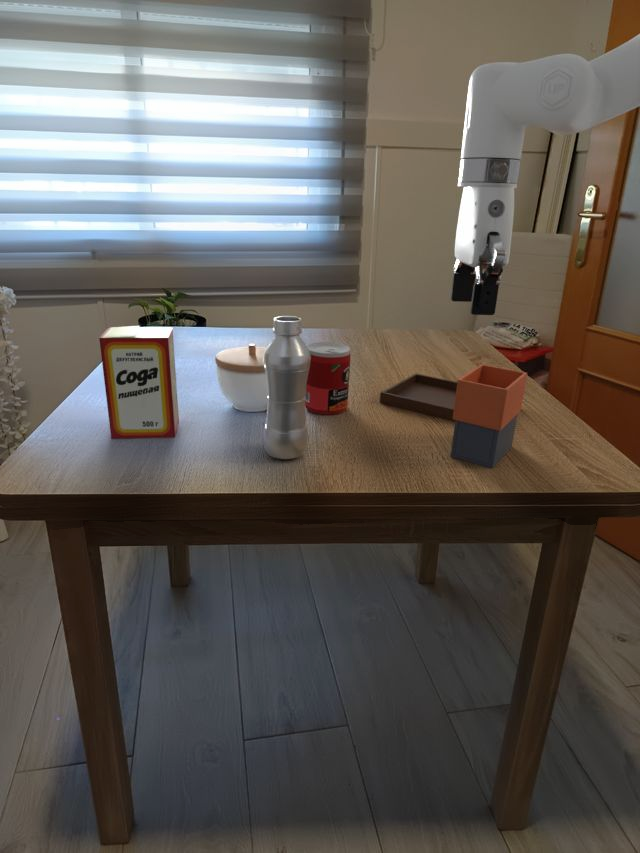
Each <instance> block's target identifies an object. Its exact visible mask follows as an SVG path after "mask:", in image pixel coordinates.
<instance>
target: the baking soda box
mask: <svg viewBox="0 0 640 853" xmlns="http://www.w3.org/2000/svg"><path fill="white" fill-rule="evenodd" d="M173 330H174V328H173V327H170V326H169V327H168V326H167V327H166V326H165V327H164V326H163V327H162V326H160V327H159V326H152V327H151V326H141V325H128V326H127V325H126V326H110V327H108V328H106V329H105V331H104V332H103V333H102V334H101V336H99V337H98V339H99V347H100V356H101V364H102V371H103V372H102V374H103V381H104V388H105V398H106V406H107V414H108V422H109V423H108V424H109V432H110V439H111V440H116V439H119V440H120V439H155V438H176V436H177V432H178V427H179V424H180V423H179V422H180V417H179V401H178V389H177V387H178V385H177V374H176V359H175V343H174V331H173Z"/></svg>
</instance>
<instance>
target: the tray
mask: <svg viewBox="0 0 640 853" xmlns="http://www.w3.org/2000/svg"><path fill="white" fill-rule="evenodd" d="M457 382H458V381H455V380H449V379H446V378H440V377H435V376H430V375H426V374H422V373H416V372H415V373H413V374H411V375H410V376H408V377H406V378H404V379H402V380H400V381H399V382H397V383H395V384H393V385H391V386H390V387H388V388H385V389H384V390H382V391H380V392H379V403H380V404H385V405H389V406H393V407H396V408H400V409H405V410H409V411H412V412H416V413H421V414H425V415H429V416H432V417H438V418H442V419H444V420H445V419H446V420H450V421H454V422H455V420H454V419H453V413H454V405H455V398H456V390H457Z"/></svg>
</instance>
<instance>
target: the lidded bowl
mask: <svg viewBox="0 0 640 853" xmlns="http://www.w3.org/2000/svg"><path fill="white" fill-rule="evenodd" d="M267 347H268V346H257V345H256V344H255V343H249V344H248V346H238V347H237V346H236V347H232V348H227V349H226V348H225V349H224V350H221V351H219V352H217V353H216V355H215V358H214V360H215V364H216V378H217V383H218V386H219V390H220V391H221V394H222V395H223V397H224V398H225V399H226V400H227V401H228V402H229V403H230V404H231V405H232V407H233V408H234V409H235V410H237V411H240V412H244V413H245V412H247V413H258V412H259V413H260V412H265V411H267V406H268V394H267V380H266V373H265V365H264V354H265V351H266V349H267Z"/></svg>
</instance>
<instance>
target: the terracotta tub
mask: <svg viewBox="0 0 640 853" xmlns="http://www.w3.org/2000/svg"><path fill="white" fill-rule="evenodd" d="M527 378H528V372H526V371H521V370H514V369H510V368H505V367H504V368H503V367H499V366H494V365H487V364H482V363H481V364H479V365H478V366H476V367H475V368H474V369H472V370H471V371H469V372H467V373H466V374H465V375H463V376H461V377H460V378H458V379H457V381H456V382H457V390H456V398H455V405H454V413H453V419H454V420H458V421H462V422H466V423H470V424H474V425H478V426H483V427H487V428H491V429H495V430H499V431H501V430H502V429H503V428H504V427H505V426H506V425H507V424H508V423H509V422H510V421H511V420H512V419H513V418H514V417H515V416H516V415H517V416H518V414H519V413H520V412H521V411H522V406H523V400H524V395H525V388H526V382H527Z"/></svg>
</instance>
